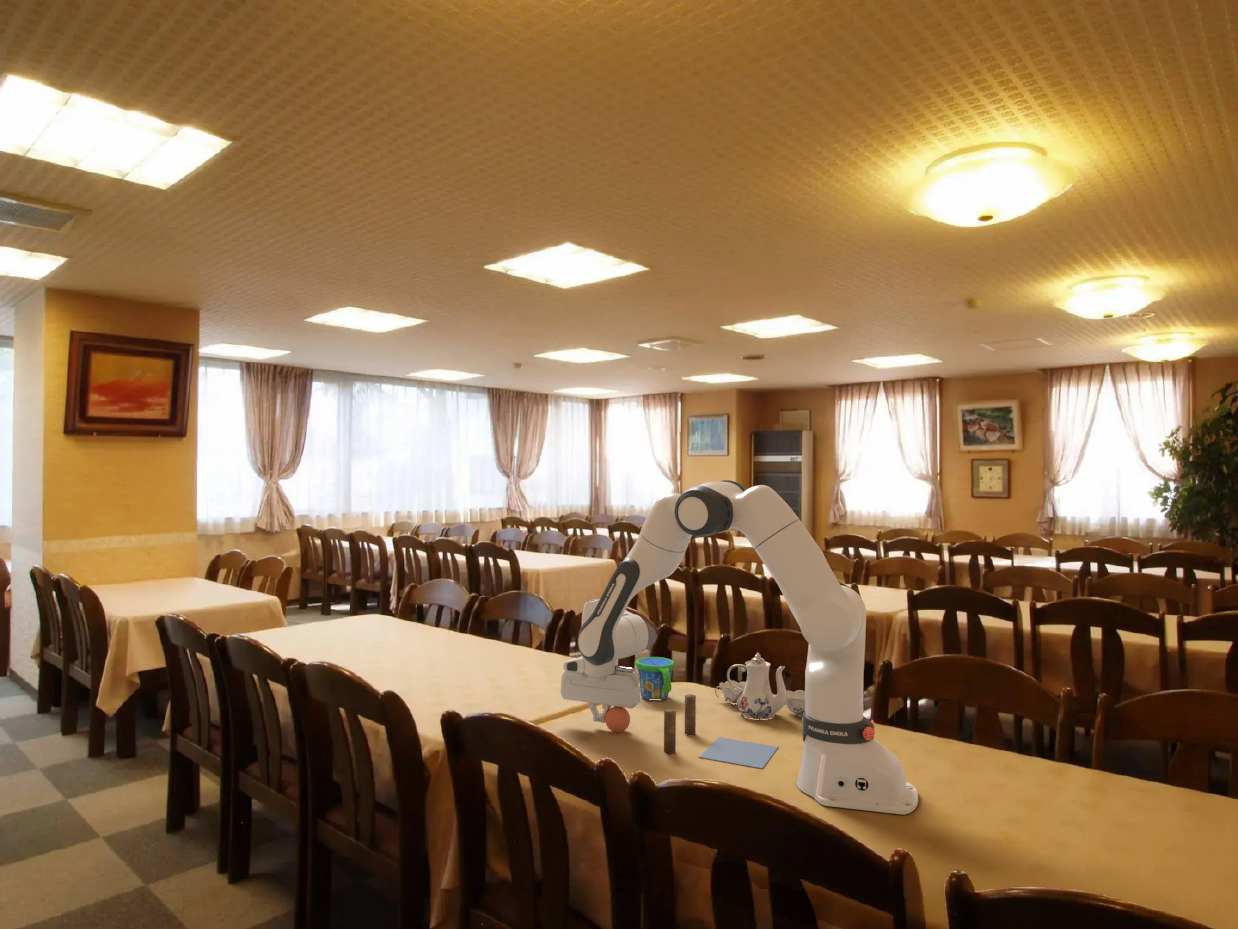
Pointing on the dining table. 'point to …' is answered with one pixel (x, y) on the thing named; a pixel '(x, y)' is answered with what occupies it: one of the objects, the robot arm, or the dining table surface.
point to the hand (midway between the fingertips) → (600, 721)
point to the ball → (617, 719)
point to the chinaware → (761, 692)
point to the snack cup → (655, 677)
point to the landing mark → (739, 752)
